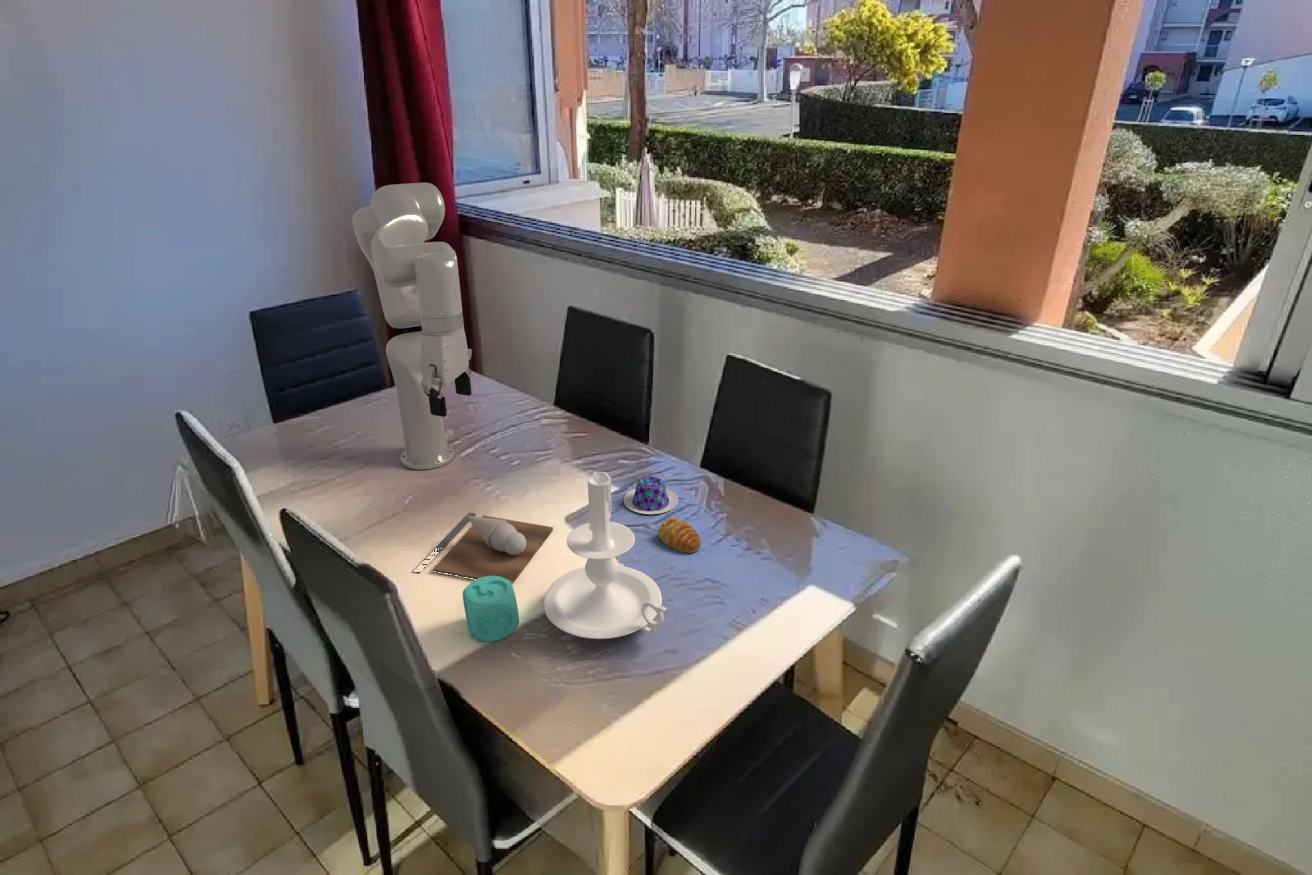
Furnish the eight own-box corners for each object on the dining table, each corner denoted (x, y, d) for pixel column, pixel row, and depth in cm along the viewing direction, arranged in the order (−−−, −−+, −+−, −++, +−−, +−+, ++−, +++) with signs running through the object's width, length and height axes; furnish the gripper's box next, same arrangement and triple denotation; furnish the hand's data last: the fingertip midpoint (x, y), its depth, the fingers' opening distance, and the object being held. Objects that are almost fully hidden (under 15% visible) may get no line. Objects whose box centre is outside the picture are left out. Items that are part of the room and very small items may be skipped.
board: (483, 518, 167) (482, 515, 166) (552, 530, 163) (552, 527, 162) (433, 572, 150) (433, 568, 149) (510, 587, 145) (509, 583, 145)
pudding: (619, 515, 169) (619, 494, 166) (627, 487, 179) (627, 467, 177) (675, 518, 167) (675, 497, 165) (680, 490, 178) (680, 470, 176)
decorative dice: (465, 618, 138) (460, 580, 134) (510, 607, 140) (507, 570, 137) (473, 647, 131) (468, 608, 127) (520, 635, 133) (517, 597, 130)
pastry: (709, 547, 158) (710, 531, 156) (684, 559, 154) (684, 543, 152) (678, 527, 164) (678, 512, 162) (653, 539, 160) (653, 523, 159)
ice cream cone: (467, 531, 160) (523, 564, 154) (450, 527, 155) (508, 561, 149) (481, 504, 161) (537, 536, 155) (465, 499, 155) (523, 532, 149)
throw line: (469, 513, 169) (469, 512, 168) (476, 514, 168) (475, 513, 168) (413, 572, 150) (413, 570, 149) (420, 573, 149) (420, 572, 149)
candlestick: (621, 684, 123) (618, 533, 111) (520, 616, 138) (507, 476, 126) (703, 620, 137) (708, 480, 125) (603, 564, 152) (599, 434, 139)
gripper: (447, 304, 153) (456, 384, 161) (398, 334, 138) (410, 421, 147) (482, 308, 151) (489, 389, 160) (436, 339, 137) (446, 427, 145)
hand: (451, 404), depth 153 cm, fingers open, 9 cm apart
